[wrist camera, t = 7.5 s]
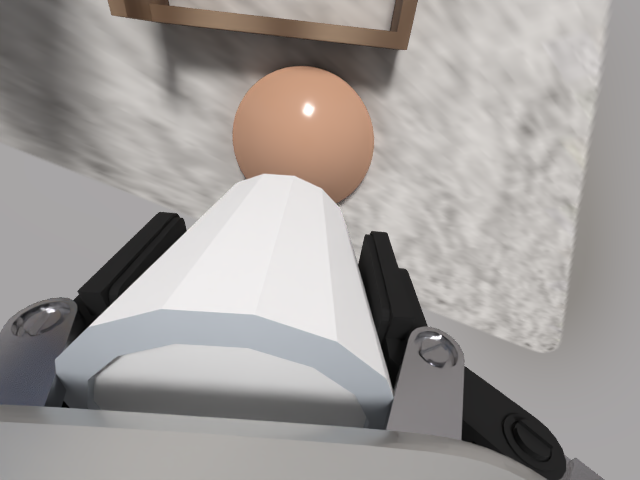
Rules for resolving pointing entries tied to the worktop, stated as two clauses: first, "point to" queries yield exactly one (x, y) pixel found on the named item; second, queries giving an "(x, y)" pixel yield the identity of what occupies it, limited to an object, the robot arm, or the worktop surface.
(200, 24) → the frame
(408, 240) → the worktop surface
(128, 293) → the white cup
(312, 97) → the tan flat disc
